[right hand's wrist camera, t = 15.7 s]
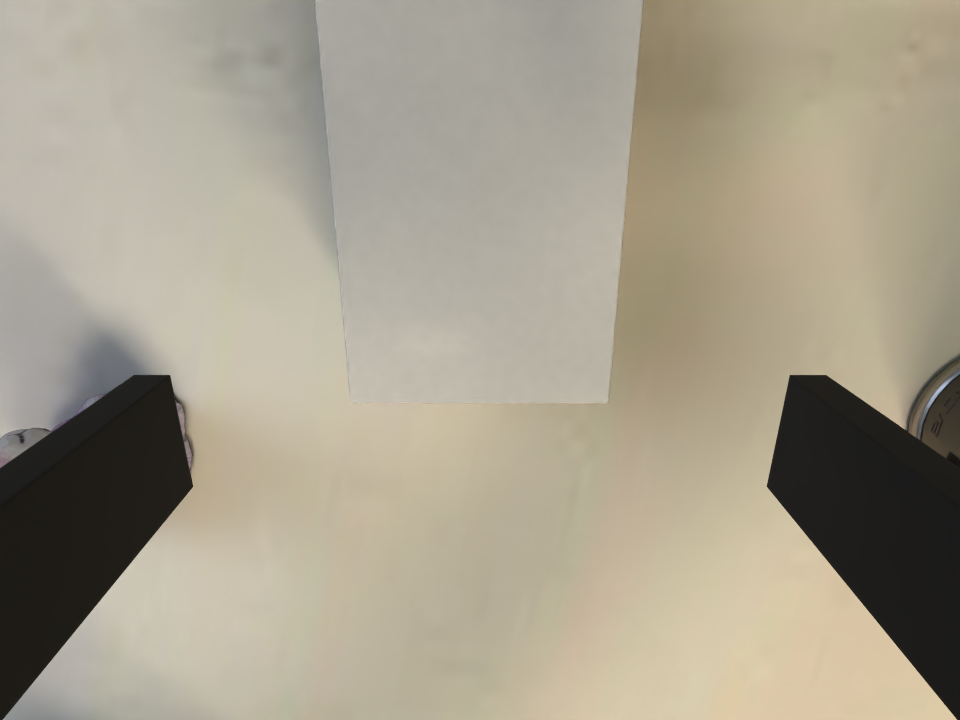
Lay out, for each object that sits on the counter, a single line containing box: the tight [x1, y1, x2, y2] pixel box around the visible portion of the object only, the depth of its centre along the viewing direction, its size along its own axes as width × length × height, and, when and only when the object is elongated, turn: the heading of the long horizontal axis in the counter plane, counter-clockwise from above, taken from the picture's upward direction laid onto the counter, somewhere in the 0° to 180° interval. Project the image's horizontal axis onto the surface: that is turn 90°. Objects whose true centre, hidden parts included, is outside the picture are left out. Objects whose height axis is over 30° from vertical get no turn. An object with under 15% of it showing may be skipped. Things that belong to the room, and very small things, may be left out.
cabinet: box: [315, 0, 643, 403], centre depth 26 cm, size 17×11×9 cm, turn 0°
